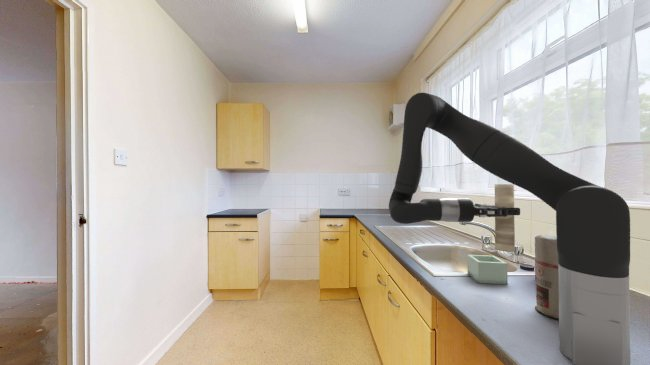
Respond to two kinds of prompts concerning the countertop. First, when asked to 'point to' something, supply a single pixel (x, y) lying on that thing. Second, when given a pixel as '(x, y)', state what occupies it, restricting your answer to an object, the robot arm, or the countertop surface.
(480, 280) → the pale green open box
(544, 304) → the white labelled canister
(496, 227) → the birch dowel
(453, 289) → the countertop surface
